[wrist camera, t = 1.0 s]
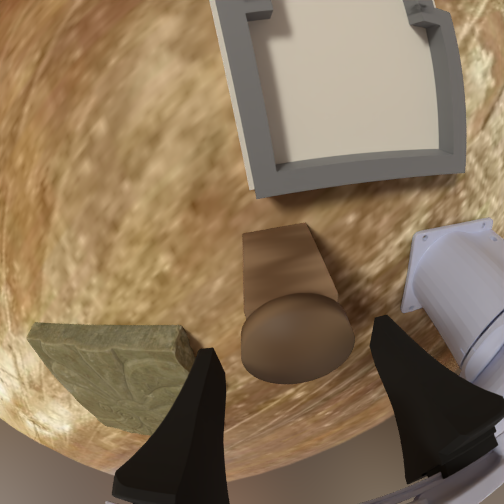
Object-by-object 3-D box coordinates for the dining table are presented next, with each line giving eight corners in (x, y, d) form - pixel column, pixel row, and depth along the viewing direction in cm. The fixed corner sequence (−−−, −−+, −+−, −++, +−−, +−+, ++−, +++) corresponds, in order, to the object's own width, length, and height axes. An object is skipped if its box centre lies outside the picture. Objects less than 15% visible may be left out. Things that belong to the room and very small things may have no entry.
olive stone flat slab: (109, 411, 32) (104, 430, 29) (34, 318, 22) (20, 341, 19) (228, 419, 32) (228, 441, 29) (189, 318, 22) (183, 351, 19)
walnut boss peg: (312, 214, 17) (359, 301, 10) (317, 277, 19) (350, 372, 12) (233, 228, 17) (228, 325, 10) (248, 290, 20) (252, 390, 13)
